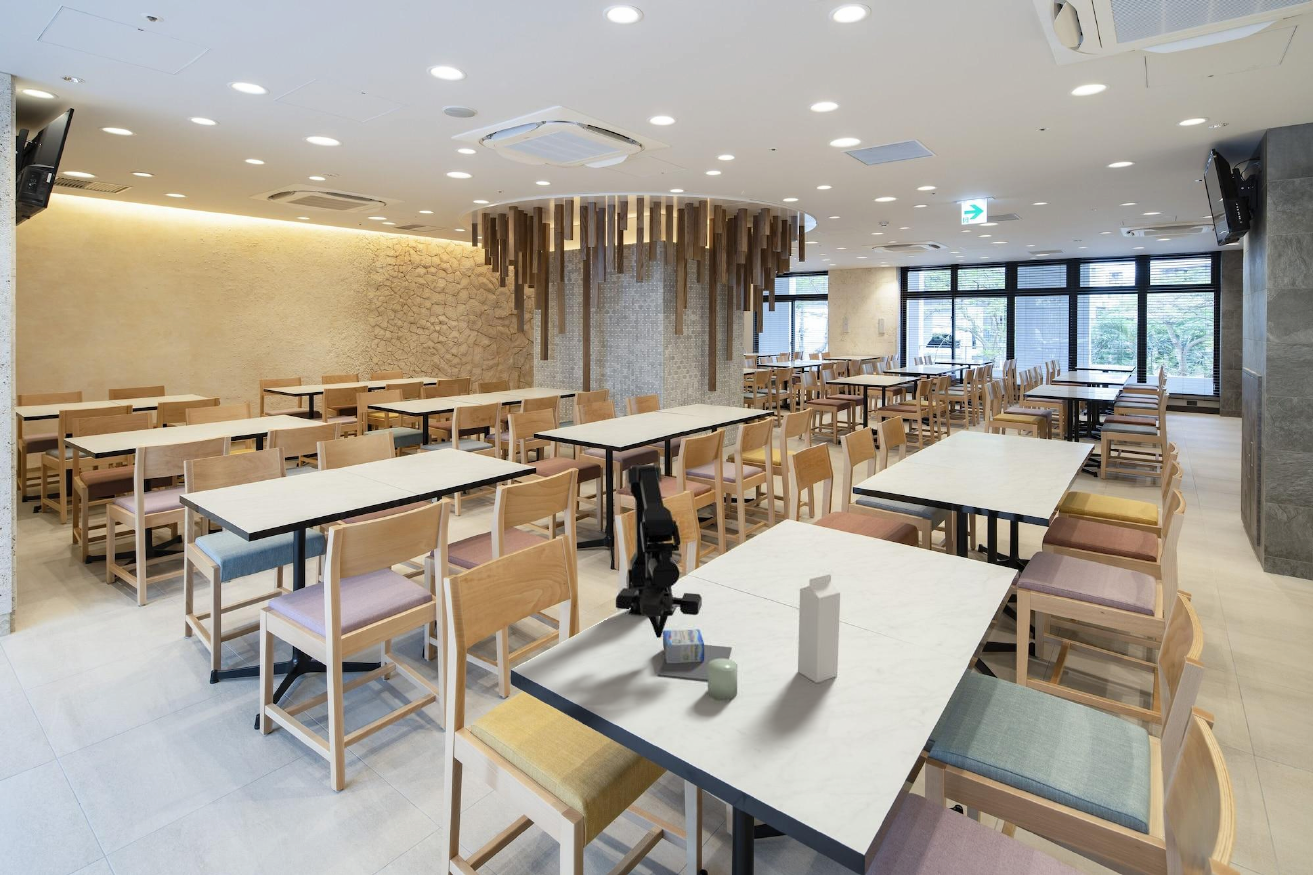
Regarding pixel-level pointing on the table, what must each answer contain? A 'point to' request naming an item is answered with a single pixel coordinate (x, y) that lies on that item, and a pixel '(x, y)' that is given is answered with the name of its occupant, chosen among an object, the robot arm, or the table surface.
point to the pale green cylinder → (722, 679)
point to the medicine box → (683, 646)
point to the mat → (695, 664)
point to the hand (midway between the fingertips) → (659, 637)
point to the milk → (819, 629)
